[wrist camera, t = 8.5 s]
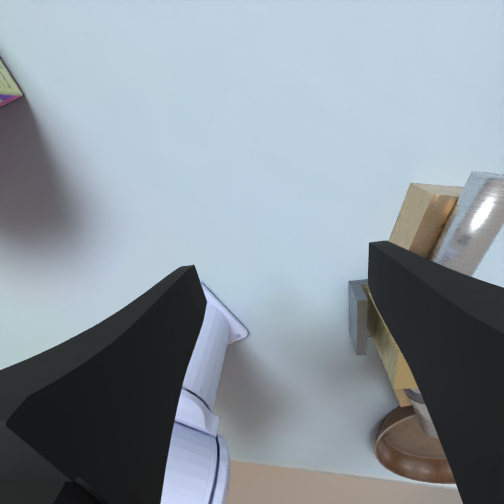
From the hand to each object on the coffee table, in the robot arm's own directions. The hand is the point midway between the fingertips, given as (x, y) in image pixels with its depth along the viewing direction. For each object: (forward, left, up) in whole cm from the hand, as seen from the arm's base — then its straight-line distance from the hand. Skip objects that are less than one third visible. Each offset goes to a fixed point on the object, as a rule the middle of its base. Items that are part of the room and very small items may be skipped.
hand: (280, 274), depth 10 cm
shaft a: (+9, -8, -10) cm, 15 cm away
